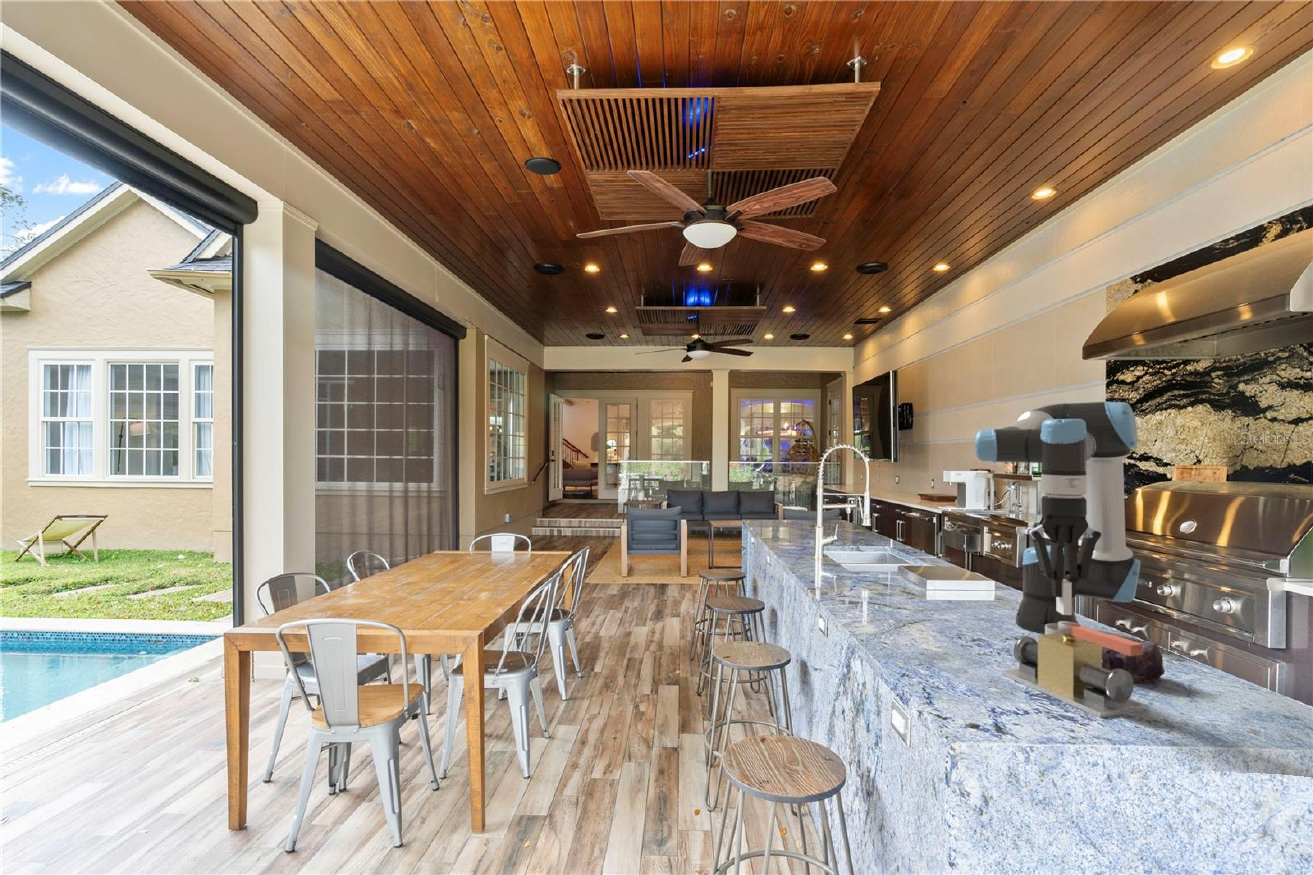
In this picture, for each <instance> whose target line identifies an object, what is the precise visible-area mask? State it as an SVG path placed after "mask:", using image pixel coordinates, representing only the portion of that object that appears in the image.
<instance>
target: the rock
mask: <svg viewBox="0 0 1313 875" xmlns="http://www.w3.org/2000/svg"><path fill="white" fill-rule="evenodd" d="M1138 643H1141V644H1143V655H1135V656H1129V655H1126V654H1123V653H1120V652H1118V651H1115V650H1112V649H1109V648H1106V647H1103V646H1102V668H1105V669H1107V670H1110V671H1112V670H1114V669H1117V668H1119V669H1122V670H1125V671H1127V672H1129V673H1130V674H1131V676H1132V678H1133V683H1134V684H1142V685H1143V684H1145V685H1146V684H1148V683H1153V682H1157V681H1160V680H1161V677H1162V675H1164V674H1165V668H1164V665H1163V664H1164V660H1163V654H1162V653H1161V650H1160V649H1159V648H1160V647H1159V646H1158V643H1157V642H1156V641H1149V642H1146V641H1144V642H1143V641H1142V642H1140V641H1139V642H1138Z"/></svg>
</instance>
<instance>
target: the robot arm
mask: <svg viewBox="0 0 1313 875" xmlns="http://www.w3.org/2000/svg"><path fill="white" fill-rule="evenodd" d="M1138 442H1139V439H1138V430H1137V423H1136V418H1135V415H1134V412H1133V409H1132V407H1131V405H1130V404H1129V403H1126V402H1124V401H1117V402H1116V401H1092V402H1091V401H1090V402H1089V401H1088V402H1073V403H1054V404H1050V405H1045V406H1043V407H1042V406H1041V407H1037V408H1035V409H1032V410H1029V411H1026V412H1024V414H1022V415H1021V416H1019V418H1018V419H1017V420H1016V421H1015V422H1014V423H1012V424H1009V425H1006V426H1004V427H1002V428H988V429H986V428H985V429H980V430H979V431H978V432H977V434H976V436H975V441H974V449H975V455H976V457H977V459H978V460H980V461H982V462H992V463H1032V464H1033V463H1034V464H1041V474H1040V475H1041V476H1040V477H1041V478H1040V479H1041V480H1040V481H1041V484H1040V485H1041V486H1040V488H1041V489H1040V490H1041V491H1040V492H1041V493H1042V494H1044V495H1042V497H1041V498H1040V499H1041V501H1040V503H1041V505H1040V506H1041V509H1040V510H1041V519H1040V521H1039V525H1038V526H1036V527H1035V528H1033V529H1031V528H1029V529H1027V530H1026V531H1027V532H1026V533H1027V535H1028V537H1029V538H1030V539H1031V541H1032V543H1033V546H1031V547H1027V548H1025V550H1024V551H1023V554H1022V555H1023V556H1022V563H1021V565H1022V599H1021V602H1020V603H1019V606H1018V610H1017V612H1016V615H1015V624H1016V625H1017V626H1018V627H1020V628H1023V629H1025V630H1027V631H1032V632H1035V633H1038V634H1039V633H1040V634H1045V625H1046V624H1058V622H1059V621H1067V622H1073V623H1077V624H1079V621H1078V620H1077V617H1076V614H1075V611H1074V608H1073V605H1072V604H1073V603H1072V602H1073V601H1072V600H1073V598H1076V596H1079V597H1085V598H1092V599H1097V600H1105V601H1110V602H1120V603H1131V602H1132V601H1134V599H1135V597H1136V592H1137V587H1138V581H1139V577H1140V569H1141V563H1142V562H1141V560H1139V559H1137V558H1134V552H1133V551H1132V550H1131V549H1130V548H1129V547H1128V546H1126V545H1127V544H1126V517H1125V516H1126V515H1125V482H1124V481H1125V480H1124V460H1125V459H1126V458H1127V457H1129V456H1130V455H1131V449H1134V448H1136V447H1137V446H1138ZM1045 535H1046V536H1047V537H1048V541H1049V542H1048V543H1049V545H1047V544H1046V541H1045V539H1044V538H1045ZM1082 536H1083V538H1082V540H1081V543H1080V544H1079V540H1080V539H1081V537H1082ZM1079 546H1080V547H1079ZM1078 548H1079V551H1078Z"/></svg>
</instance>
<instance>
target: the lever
mask: <svg viewBox="0 0 1313 875" xmlns="http://www.w3.org/2000/svg"><path fill="white" fill-rule="evenodd" d="M1058 632H1060V633H1063V634H1067V635H1072V636H1075V637H1078V638H1081V639H1084V640H1086V641H1089V642H1092V643H1095V644H1098V645H1100V646H1102V647H1106V648H1109V649H1112V650H1115V651H1118V652H1120V653H1123V654H1126V655H1129V656H1135V655H1143V644H1141V643H1142V642H1140V643H1139V642H1137V641H1134V640H1131V639H1128V638H1126V637H1125V638H1124V637H1121V636H1119V635H1115V634H1112V633H1111V634H1107V633H1105V632H1101V631H1099V630H1095V629H1093V628H1089V627H1087V626H1083V625H1081V624H1079V623H1078V624H1077V623H1073V622H1067V621H1059V622H1058Z"/></svg>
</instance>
